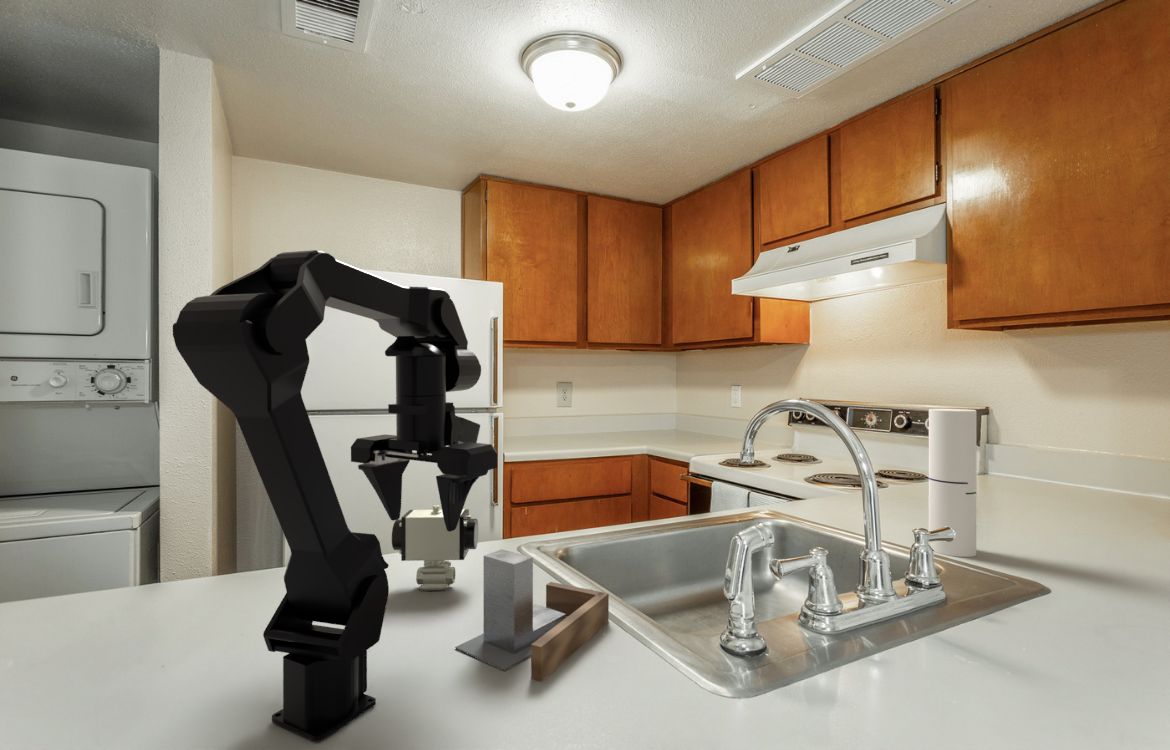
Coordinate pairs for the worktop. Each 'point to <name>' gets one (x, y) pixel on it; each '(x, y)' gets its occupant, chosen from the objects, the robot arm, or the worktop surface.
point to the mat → (493, 653)
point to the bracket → (513, 603)
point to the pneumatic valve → (434, 544)
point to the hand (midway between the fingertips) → (422, 525)
